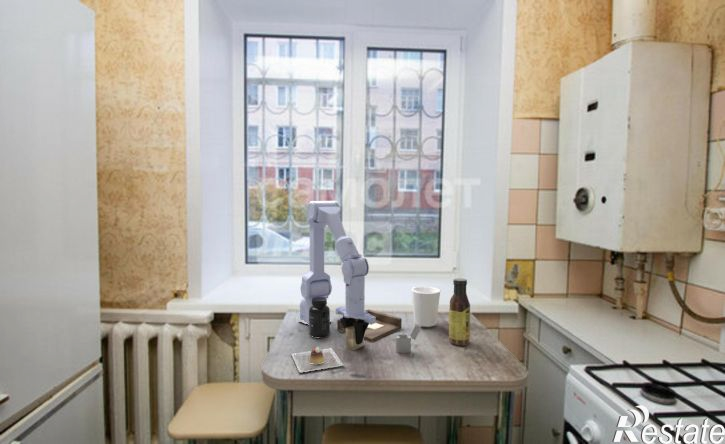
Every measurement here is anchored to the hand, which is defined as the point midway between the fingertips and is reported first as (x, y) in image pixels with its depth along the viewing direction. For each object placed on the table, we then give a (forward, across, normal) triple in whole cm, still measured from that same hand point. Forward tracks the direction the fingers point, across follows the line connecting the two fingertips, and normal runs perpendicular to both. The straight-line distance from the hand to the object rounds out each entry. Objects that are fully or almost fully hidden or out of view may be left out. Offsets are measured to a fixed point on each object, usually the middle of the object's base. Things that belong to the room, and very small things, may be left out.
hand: (354, 341), depth 116 cm
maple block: (+1, 0, 0) cm, 1 cm away
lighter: (+2, +14, +8) cm, 16 cm away
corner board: (+1, -6, +14) cm, 15 cm away
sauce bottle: (+2, +22, +24) cm, 33 cm away
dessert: (+2, -1, -14) cm, 15 cm away
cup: (+2, +6, +30) cm, 31 cm away
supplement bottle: (+2, -15, -1) cm, 15 cm away
